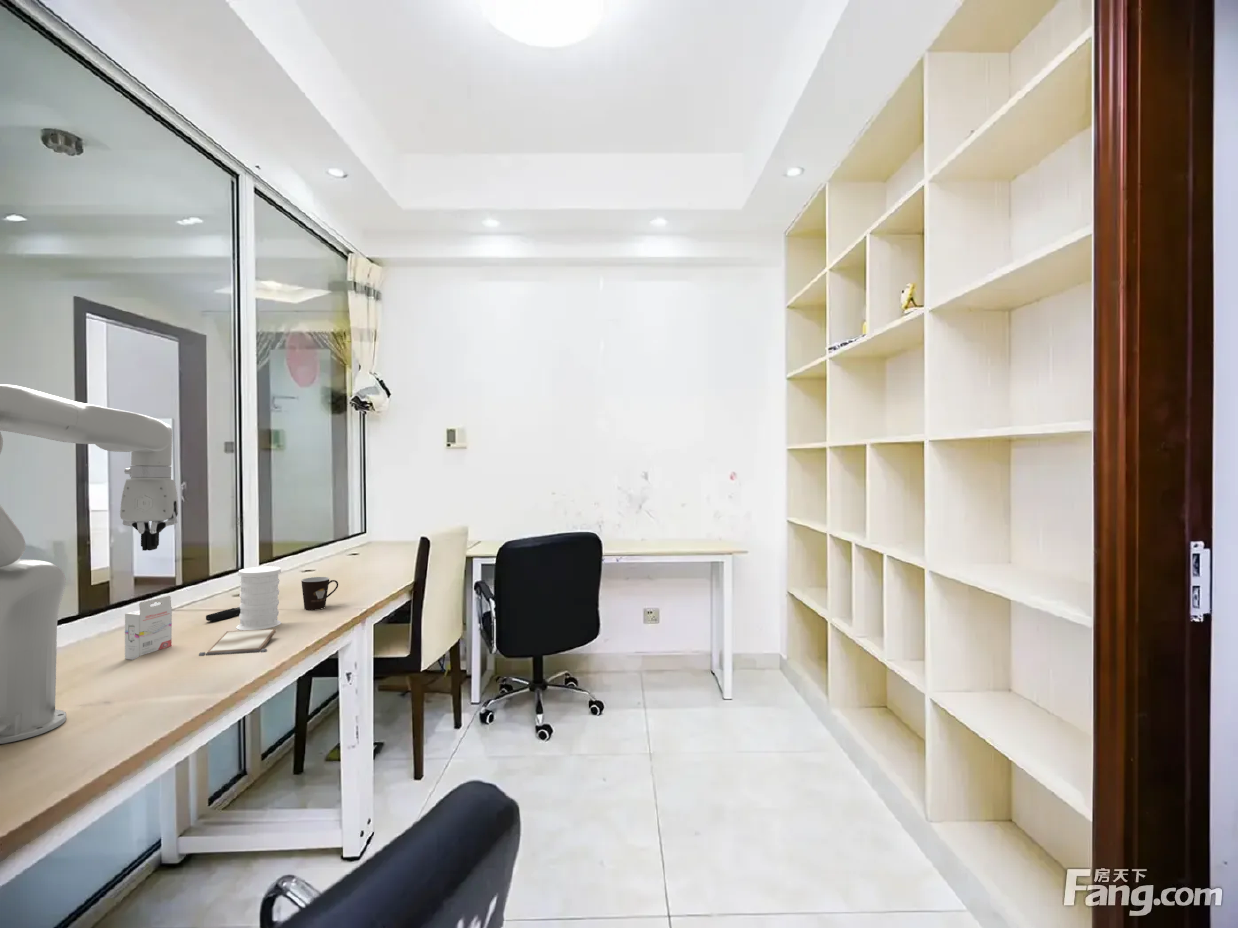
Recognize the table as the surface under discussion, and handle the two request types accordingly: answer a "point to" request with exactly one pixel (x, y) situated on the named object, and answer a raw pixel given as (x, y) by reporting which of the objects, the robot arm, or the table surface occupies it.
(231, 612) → the electric trimmer
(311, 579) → the coffee mug
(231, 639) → the flap
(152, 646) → the ink cartridge box
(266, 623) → the decorative container
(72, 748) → the table surface
